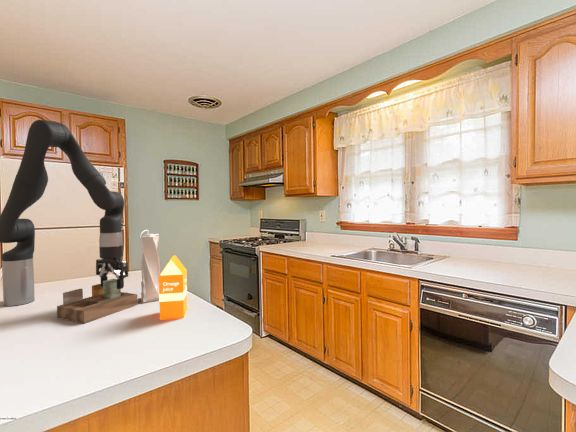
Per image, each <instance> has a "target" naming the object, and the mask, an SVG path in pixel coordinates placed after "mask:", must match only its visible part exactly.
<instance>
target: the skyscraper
mask: <svg viewBox="0 0 576 432" xmlns="http://www.w3.org/2000/svg"><path fill="white" fill-rule="evenodd" d="M145 232H147V233H146V234H145V235H144V236H142V234H143V233H145ZM139 240H140V244H141V249H142V255H141V282H140V283H141V293H140V297H139V298H138V297H137V300H138V301H139V303H141V305H142V304H143V305H144V304H148V303H153V302H154V303H155V302H159V292H158V291H159V275H160V274H161V265H160V264H161V262H160V256H159V252H158V246H159V241H160V234H159V233H150V232H149V229H144V230H143V231H141V232H140V235H139Z"/></svg>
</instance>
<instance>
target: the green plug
mask: <svg viewBox="0 0 576 432" xmlns="http://www.w3.org/2000/svg"><path fill="white" fill-rule="evenodd" d="M121 290H122V289H117V278H110V279H108V280H105V281H103V297H104V298H106V299H113V298H116V297H119V296H121V292H122V291H121Z"/></svg>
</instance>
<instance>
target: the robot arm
mask: <svg viewBox="0 0 576 432" xmlns="http://www.w3.org/2000/svg"><path fill="white" fill-rule="evenodd" d="M24 147H25V148H24V152H23V155H22V158H21V160H20V165H19V168H18V169H17V173H16V175H15V177H14V180H13V183H12V185H11V186H12V187H11V189H10V193H9V195H8V198H7V200H6V202H5V205H4V207H3V209H2V211H1V213H0V243H1V244H11V243H16V245H15V246H14V247H12V248H11V249H9V250H7V251H5V252H3V253H1V269H2V270H1V272H2V273H1V276H2V296H3V297H2V300H3V306H5V307H12V306H13V307H14V306H20V305H25V304H29V303H31V302H32V303H33V302H34V301H35V297H36V296H35V275H34V274H35V272H34V271H35V270H34V252H35V240H36V239H35V236H36V235H35V234H36V233H35V232H36V229H35V225H34V223H33V221H32V220H31V219H29V218H20V217H21V215H22V214H23V213H24V212H25V211H26V210H27V209H29V208H30V207H31V206H32V205H34V204H35V203H37V202H38V201H39V200H40V199H41V198H42V197H43V195H44V194H45V190H46V188H47V186H48V182H49V175H48V171H47V169H46V165H45V158H46V155H47V153H48V150H49V148H57V149H59V150H61V151H62V152H63V153H64V154H65V155H66V156H67V157H68V159H69V163H70V167H71V170H72V173H73V174H74V176H75V178H76V179H77V181H79V183H80V184H81V185H82V186H83V187H84V188H85V190H87V193H88V194H89V196H90V199H91V200H92V202H93V203H94V204H95V206H97V207H98V208H99V209H101V210H103V211H104V215H103V216H102V217H101V218H100V219H99V240H98V243H99V246H98V247H99V252H98V253H99V259H97V258H96V260H95V274H96V276H98V277H99V278H100V284H101V287H103V281H105V280H109V279H108V275H109V273H112V275H114V276H115V279H117V289H121V290H122V289H124V287H125V284H124V283H125V280H124V279H126V278H127V277H129V265H128V260H121V258H122V257H123V256H124V253H123V252H124V249H123V248H124V245H123V242H124V241H123V239H124V238H123V233H122V228H123V227H122V218H123V217H124V209H125V198H124V196H123V195H122V193H120V192H118V191H113V190H112V191H111V190H110V189H109V188H108V187H107V185H106V184H107V181H106V179H105V178H104V177H103V175H102V174H101V173H100V172H99V171H98V169H96V167H95V166H94V165H93V164H92V162H91V161H90V160H89V158H88V157H87V156H86V154H85V152H84V151H83V150H82V148H81V146H80V143H78V141H77V140H76V138H75V136H74V135H73V133H72V132H71V130H70V129H69V127H67V126H66V125H65V124H64V123H63V122H58V121H53V120H46V119H36V120H35V121H33V122H32V123H31V125H30V126H29V128H28V133H27V137H26V140H25V146H24Z"/></svg>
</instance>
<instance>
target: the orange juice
mask: <svg viewBox="0 0 576 432" xmlns="http://www.w3.org/2000/svg"><path fill="white" fill-rule="evenodd" d="M179 259H180V258H178V257H177V255H175V254H174V255H173V256H172V257H171V258H170V260H169V261H168V263H167V264H166V265H165V267H164V268H163V269H162V271H161V272H160V275H159V286H158V291H159V292H158V295H159V301H158V303H159V320H160V321H161V320H163V321H164V320H177V319H184V318H185V316H186V313H187V311H188V284H187V283H188V282H187V276H188V275H187V268H186V267H185V266H184V264H183V263H182V262H181V260H179Z"/></svg>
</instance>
